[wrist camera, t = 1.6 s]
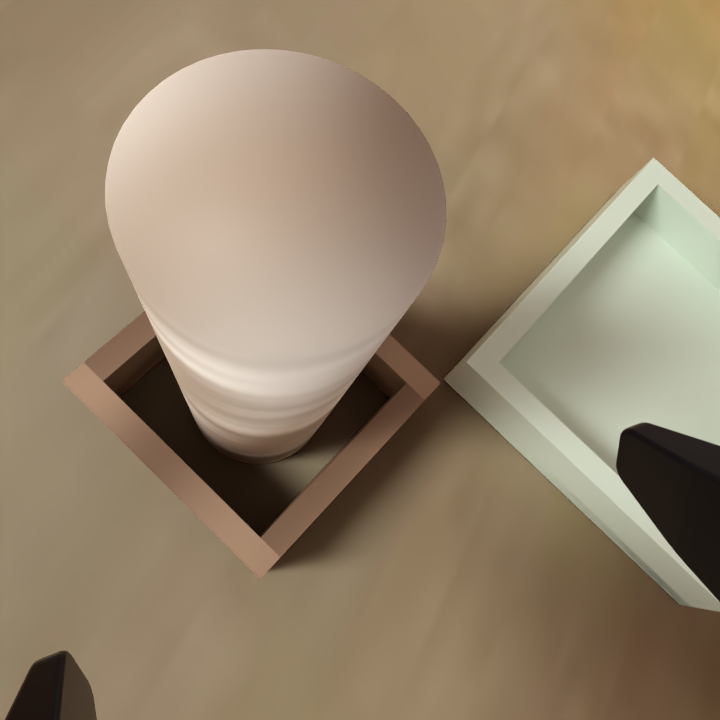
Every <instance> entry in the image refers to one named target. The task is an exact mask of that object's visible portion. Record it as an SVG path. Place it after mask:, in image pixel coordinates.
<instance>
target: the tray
mask: <svg viewBox="0 0 720 720" xmlns="http://www.w3.org/2000/svg"><path fill="white" fill-rule="evenodd" d="M444 380H445V381H446V382H447V383H448V384H449V385H450V386H451V387H452V388H453V389H454V390H455V391H456V392H457V393H458V394H459V395H460V396H462V397H463V398H464V399H465V400H466V401H467V402H468V403H469V404H470V405H471V406H472V407H473V408H474V409H475V410H476V411H477V412H478V413H479V414H480V415H481V416H482V417H484V418H485V419H486V420H487V421H488V422H489V423H490V424H491V425H492V426H493V427H494V428H495V429H496V430H497V431H498V432H499V433H500V434H501V435H502V436H503V437H504V438H506V439H507V440H508V441H509V442H510V443H511V444H512V445H513V446H514V447H515V448H516V449H517V450H518V451H519V452H520V453H521V454H522V455H523V456H524V457H525V458H526V459H528V460H529V461H530V462H531V463H532V464H533V465H534V466H535V467H536V468H537V469H538V470H539V471H540V472H541V473H542V474H543V475H544V476H545V477H546V478H547V479H548V480H550V481H551V482H552V483H553V484H554V485H555V486H556V487H557V488H558V489H559V490H560V491H561V492H562V493H563V494H564V495H565V496H566V497H567V498H568V499H569V500H570V501H572V502H573V503H574V504H575V505H576V506H577V507H578V508H579V509H580V510H581V511H582V512H583V513H584V514H585V515H586V516H587V517H588V518H589V519H590V520H591V521H592V522H594V523H595V524H596V525H597V526H598V527H599V528H600V529H601V530H602V531H603V532H604V533H605V534H606V535H607V536H608V537H609V538H610V539H611V540H612V541H613V542H614V543H616V544H617V545H618V546H619V547H620V548H621V549H622V550H623V551H624V552H625V553H626V554H627V555H628V556H629V557H630V558H631V559H632V560H633V561H634V562H635V563H636V564H637V565H639V566H640V567H641V568H642V569H643V570H644V571H645V572H646V573H647V574H648V575H649V576H650V577H651V578H652V579H653V580H654V581H655V582H656V583H657V584H658V585H659V586H661V587H662V588H663V589H664V590H665V591H666V592H667V593H668V594H669V595H670V596H671V597H672V598H673V599H674V600H675V601H676V602H677V603H678V604H679V605H684V606H690V607H695V608H701V609H707V610H712V611H718V612H720V602H719V601H718V600H717V599H716V597H715V596H714V595H713V594H712V593H711V592H710V591H709V590H708V588H707V587H706V586H705V585H704V584H703V583H702V582H701V581H700V580H699V578H698V577H697V576H696V575H695V574H694V573H693V572H692V571H691V570H690V568H689V567H688V566H687V565H686V564H685V563H684V562H683V561H682V559H681V558H680V557H679V556H678V555H677V554H676V552H675V551H674V550H673V549H672V547H671V546H670V545H669V544H668V542H667V541H666V540H665V538H664V537H663V536H662V534H661V533H660V532H659V530H658V529H657V528H656V526H655V525H654V523H653V522H652V521H651V519H650V518H649V517H648V515H647V514H646V513H645V511H644V510H643V509H642V507H641V506H640V504H639V503H638V502H637V500H636V499H635V498H634V496H633V495H632V494H631V492H630V491H629V490H628V488H627V487H626V486H625V484H624V483H623V481H622V480H621V478H620V477H619V475H618V472H617V469H616V460H617V453H618V446H619V440H620V435H621V432H622V431H623V430H624V429H626V428H628V427H631V426H633V425H636V424H638V423H642V422H646V423H651V424H654V425H657V426H660V427H663V428H666V429H670V430H673V431H676V432H679V433H682V434H685V435H688V436H691V437H695V438H698V439H701V440H704V441H707V442H710V443H713V444H716V445H719V446H720V218H719V217H718V216H717V215H716V214H715V213H714V212H713V211H712V210H711V209H709V208H708V207H707V206H706V205H705V204H704V203H703V202H702V201H701V200H700V199H698V198H697V197H696V196H695V195H694V194H693V193H692V192H691V191H690V190H689V189H687V188H686V187H685V186H684V185H683V184H682V183H681V182H680V181H679V180H678V179H676V178H675V177H674V176H673V175H672V174H671V173H670V172H669V171H668V170H667V169H665V168H664V167H663V166H662V165H661V164H660V163H659V162H658V161H657V160H656V159H654V158H653V159H651V160H650V161H649V162H648V163H647V164H646V165H645V166H644V167H643V168H641V169H640V170H639V171H638V172H637V173H636V174H635V175H634V176H633V177H631V178H630V179H629V180H628V181H627V182H626V183H625V184H624V185H623V186H622V187H620V188H619V189H618V190H617V191H616V192H615V193H614V194H613V195H612V196H611V198H610V199H609V200H608V201H607V202H606V203H605V204H604V205H603V206H602V207H601V208H600V210H599V211H598V212H597V213H596V214H595V215H594V216H593V217H592V218H591V219H590V220H589V221H588V223H587V224H586V225H585V226H584V227H583V228H582V229H581V230H580V231H579V232H578V233H577V235H576V236H575V237H574V238H573V239H572V240H571V241H570V242H569V243H568V244H567V245H566V246H565V248H564V249H563V250H562V251H561V252H560V253H559V254H558V255H557V256H556V257H555V258H554V259H553V261H552V262H551V263H550V264H549V265H548V266H547V267H546V268H545V269H544V270H543V271H542V273H541V274H540V275H539V276H538V277H537V278H536V279H535V280H534V281H533V282H532V283H531V284H530V286H529V287H528V288H527V289H526V290H525V291H524V292H523V293H522V294H521V295H520V296H519V297H518V299H517V300H516V301H515V302H514V303H513V304H512V305H511V306H510V307H509V308H508V309H507V311H506V312H505V313H504V314H503V315H502V316H501V317H500V318H499V319H498V320H497V321H496V322H495V324H494V325H493V326H492V327H491V328H490V329H489V330H488V331H487V332H486V333H485V334H484V335H483V337H482V338H481V339H480V340H479V341H478V342H477V343H476V344H475V345H474V346H473V347H472V349H471V350H470V351H469V352H468V353H467V354H466V355H465V356H464V357H463V358H462V359H461V360H460V362H459V363H458V364H457V365H456V366H455V367H454V368H453V369H452V370H451V371H450V372H449V373H448V375H447V376H446V377H445V378H444Z"/></svg>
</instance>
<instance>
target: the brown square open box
mask: <svg viewBox="0 0 720 720" xmlns="http://www.w3.org/2000/svg"><path fill="white" fill-rule="evenodd" d="M165 357H166V356H165V354H164V351H163V349H162V347H161V345H160V343H159V340H158V338H157V336H156V334H155V332H154V329H153V327H152V325H151V323H150V321H149V319H148V316H147V314H146V312H145V311H144V312H143V313H142V314H141V315H139V316H138V317H137V318H136V319H135V320H134V321H132V322H131V323H130V324H129V325H128V326H126V327H125V328H124V329H123V330H122V331H120V332H119V333H118V334H117V335H116V336H115V337H113V338H112V339H111V340H110V341H109V342H107V343H106V344H105V345H104V346H103V347H101V348H100V349H99V350H98V351H97V352H96V353H94V354H93V355H92V356H91V357H90V358H88V359H87V360H86V361H85V362H84V363H82V364H81V365H80V366H79V367H78V368H77V369H75V370H74V371H73V372H72V373H71V374H69V375H68V376H67V377H66V378H65V379H63V380H62V382H63V383H64V384H65V385H66V386H67V387H68V388H69V389H70V390H71V391H72V392H73V393H74V394H75V395H76V396H77V397H78V398H79V399H80V400H81V401H82V402H83V403H84V404H85V405H86V406H87V407H88V408H89V409H90V410H91V411H92V412H93V413H94V414H95V415H96V416H97V417H98V418H99V419H100V420H101V421H102V422H103V423H104V424H105V425H106V426H107V427H108V428H109V429H110V430H111V431H112V432H113V433H114V434H115V435H116V436H117V437H118V438H119V439H120V440H121V441H122V442H123V443H124V444H125V445H126V446H127V447H128V448H129V449H130V450H131V451H132V452H133V453H134V454H135V455H136V456H137V457H138V458H139V459H140V460H141V461H142V462H143V463H144V464H145V465H146V466H147V467H148V468H149V469H150V470H151V471H152V472H153V473H154V474H155V475H156V476H157V477H158V478H159V479H160V480H161V481H162V482H163V483H164V484H165V485H166V486H167V487H168V488H169V489H170V490H171V491H172V492H173V493H174V494H175V495H176V496H177V497H178V498H179V499H180V500H181V501H182V502H183V503H184V504H185V505H186V506H187V507H188V508H189V509H190V510H192V511H193V512H194V513H195V514H196V515H197V516H198V517H199V518H200V519H201V520H202V521H203V522H204V523H205V524H206V525H207V526H208V527H209V528H210V529H211V530H212V531H213V532H214V533H215V534H216V535H217V536H218V537H219V538H220V539H221V540H222V541H223V542H224V543H225V544H226V545H227V546H228V547H229V548H230V549H231V550H232V551H233V552H234V553H235V554H236V555H237V556H238V557H239V558H240V559H241V560H242V561H243V562H244V563H245V564H246V565H247V566H248V567H249V568H250V569H251V570H252V571H253V572H254V573H255V574H256V575H257V576H258V577H259V578H260V579H261V578H262V577H263V576H264V575H265V574H266V572H267V571H268V570H269V569H270V568H271V567H272V566H273V565H274V564H275V563H276V562H277V560H278V559H279V558H280V557H281V556H282V555H283V554H284V553H285V552H286V551H287V550H288V549H289V547H290V546H291V545H292V544H293V543H294V542H295V541H296V540H297V539H298V538H299V537H300V536H301V534H302V533H303V532H304V531H305V530H306V529H307V528H308V527H309V526H310V525H311V524H312V522H313V521H314V520H315V519H316V518H317V517H318V516H319V515H320V514H321V513H322V512H323V511H324V509H325V508H326V507H327V506H328V505H329V504H330V503H331V502H332V501H333V500H334V499H335V497H336V496H337V495H338V494H339V493H340V492H341V491H342V490H343V489H344V488H345V487H346V486H347V484H348V483H349V482H350V481H351V480H352V479H353V478H354V477H355V476H356V475H357V474H358V472H359V471H360V470H361V469H362V468H363V467H364V466H365V465H366V464H367V463H368V462H369V461H370V459H371V458H372V457H373V456H374V455H375V454H376V453H377V452H378V451H379V450H380V449H381V447H382V446H383V445H384V444H385V443H386V442H387V441H388V440H389V439H390V438H391V437H392V436H393V434H394V433H395V432H396V431H397V430H398V429H399V428H400V427H401V426H402V425H403V424H404V422H405V421H406V420H407V419H408V418H409V417H410V416H411V415H412V414H413V413H414V412H415V411H416V409H417V408H418V407H419V406H420V405H421V404H422V403H423V402H424V401H425V400H426V399H427V397H428V396H429V395H430V394H431V393H432V392H433V391H434V390H435V389H436V388H437V387H438V386H439V384H440V382H439V381H438V380H437V379H436V378H435V377H434V376H433V375H432V374H431V373H430V372H429V371H428V370H427V369H426V368H425V367H424V366H423V365H422V364H420V363H419V362H418V361H417V360H416V359H415V358H414V357H413V356H412V355H411V354H410V353H409V352H408V351H407V350H406V349H405V348H404V347H403V346H402V345H401V344H400V343H399V342H397V341H396V340H395V339H394V338H393V337H392V336H391V335H390V334H389V335H388V336H387V338H386V339H385V340H384V342H383V343H382V344H381V346H380V347H379V348H378V350H377V351H376V352H375V354H374V355H373V356H372V358H371V359H370V360H369V362H368V363H367V364H366V366H365V367H364V368H363V370H362V372H363V373H364V374H365V375H366V376H367V377H368V378H369V379H370V380H371V381H372V382H373V383H374V384H375V385H377V386H378V387H379V388H380V389H381V390H382V391H383V392H384V393H385V394H386V395H387V396H388V397H389V399H388V400H387V401H386V402H385V403H384V404H383V406H382V407H381V408H380V409H379V410H378V411H377V412H376V413H375V414H374V415H373V416H372V417H371V418H370V419H369V420H368V421H367V422H366V424H365V425H364V426H363V427H362V428H361V429H360V430H359V431H358V432H357V433H356V434H355V435H354V436H353V437H352V438H351V439H350V440H349V441H348V443H347V444H346V445H345V446H344V447H343V448H342V449H341V450H340V451H339V452H338V453H337V454H336V455H335V456H334V457H333V458H332V459H331V460H330V462H329V463H328V464H327V465H326V466H325V467H324V468H323V469H322V470H321V471H320V472H319V473H318V474H317V475H316V476H315V477H314V478H313V480H312V481H311V482H310V483H309V484H308V485H307V486H306V487H305V488H304V489H303V490H302V491H301V492H300V493H299V494H298V495H297V496H296V497H295V499H294V500H293V501H292V502H291V503H290V504H289V505H288V506H287V507H286V508H285V509H284V510H283V511H282V512H281V513H280V514H279V515H278V517H277V518H276V519H275V520H274V521H273V522H272V523H271V524H270V525H269V526H268V527H267V528H266V529H265V530H264V531H263V532H262V533H261V534H260V536H258V535H257V534H256V533H255V532H254V531H253V530H252V529H251V528H250V527H249V526H248V525H247V524H246V523H245V522H244V521H243V520H242V519H241V518H240V517H239V516H238V515H237V514H236V513H235V512H234V511H233V510H232V509H231V508H230V507H229V506H228V505H227V504H226V503H225V502H224V501H223V500H222V499H221V498H220V497H219V496H218V495H217V494H216V493H215V492H214V491H213V490H212V489H211V488H210V487H209V486H208V485H207V484H206V483H205V482H204V481H203V480H202V479H201V478H200V477H199V476H198V475H197V474H196V473H195V472H194V471H193V470H192V469H191V468H190V467H189V466H188V465H187V464H186V463H185V462H184V461H183V460H182V459H181V458H180V457H179V456H178V455H177V454H176V453H175V452H174V451H173V450H172V449H171V448H170V447H169V446H168V445H167V444H166V443H165V442H164V441H163V440H162V439H161V438H160V437H159V436H158V435H157V434H156V433H154V432H153V431H152V430H151V429H150V428H149V427H148V426H147V425H146V424H145V423H144V422H143V421H142V420H141V419H140V418H139V417H138V416H137V415H136V414H135V413H134V412H133V411H132V410H131V409H130V408H129V407H128V406H127V405H126V404H125V403H124V402H123V401H122V400H121V399H120V398H119V397H120V396H122V395H123V394H124V393H125V392H126V391H127V390H128V389H129V388H131V387H132V386H133V385H134V384H135V383H136V382H137V381H139V380H140V379H141V378H142V377H143V376H144V375H145V374H147V373H148V372H149V371H150V370H151V369H152V368H153V367H154V366H156V365H157V364H158V363H159V362H160V361H161V360H162V359H164V358H165Z"/></svg>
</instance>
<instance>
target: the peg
mask: <svg viewBox="0 0 720 720" xmlns="http://www.w3.org/2000/svg"><path fill="white" fill-rule="evenodd" d="M105 205H106V211H107V218H108V224H109V228H110V231H111V234H112V237H113V240H114V243H115V246H116V248H117V251H118V253H119V255H120V257H121V259H122V262H123V264H124V266H125V268H126V270H127V273H128V275H129V277H130V279H131V281H132V284H133V286H134V288H135V290H136V292H137V294H138V297H139V299H140V301H141V303H142V305H143V308H144V310H145V312H146V314H147V316H148V319H149V321H150V323H151V325H152V327H153V329H154V332H155V334H156V336H157V338H158V340H159V343H160V345H161V347H162V349H163V351H164V354H165V356H166V358H167V360H168V362H169V364H170V367H171V369H172V371H173V373H174V375H175V378H176V380H177V382H178V384H179V386H180V389H181V391H182V393H183V395H184V397H185V399H186V402H187V404H188V406H189V408H190V410H191V413H192V415H193V417H194V419H195V421H196V424H197V426H198V428H199V430H200V432H201V433H202V435H203V436H204V438H205V439H206V440H207V441H208V442H209V443H210V445H211V446H213V447H214V448H215V449H216V450H217V451H219V452H220V453H222V454H223V455H225V456H227V457H229V458H231V459H234V460H237V461H240V462H244V463H250V464H265V463H271V462H276V461H279V460H282V459H284V458H286V457H288V456H290V455H292V454H294V453H295V452H297V451H298V450H300V449H301V448H302V447H303V446H304V445H305V444H306V443H307V442H308V441H309V440H310V439H311V437H312V436H313V435H314V433H315V432H316V431H317V429H318V428H319V427H320V425H321V424H322V423H323V421H324V420H325V419H326V417H327V416H328V415H329V413H330V412H331V411H332V409H333V408H334V407H335V405H336V404H337V403H338V402H339V400H340V399H341V398H342V396H343V395H344V394H345V392H346V391H347V390H348V388H349V387H350V386H351V384H352V383H353V382H354V380H355V379H356V378H357V376H358V375H359V374H360V372H361V371H362V370H363V368H364V367H365V366H366V364H367V363H368V362H369V360H370V359H371V358H372V356H373V355H374V354H375V352H376V351H377V350H378V348H379V347H380V346H381V344H382V343H383V342H384V340H385V339H386V338H387V336H388V335H389V334H390V332H391V331H392V330H393V328H394V327H395V326H396V324H397V323H398V322H399V320H400V319H401V318H402V316H403V315H404V314H405V312H406V311H407V310H408V308H409V307H410V306H411V305H412V303H413V302H414V301H415V299H416V298H417V297H418V295H419V294H420V292H421V291H422V289H423V288H424V286H425V285H426V283H427V281H428V280H429V278H430V277H431V274H432V272H433V270H434V268H435V265H436V263H437V261H438V259H439V255H440V252H441V248H442V245H443V241H444V235H445V227H446V198H445V191H444V184H443V180H442V177H441V173H440V170H439V166H438V163H437V161H436V159H435V156H434V154H433V152H432V149H431V147H430V145H429V144H428V142H427V140H426V138H425V137H424V135H423V133H422V132H421V130H420V129H419V127H418V126H417V125H416V123H415V122H414V121H413V119H412V118H411V117H410V115H409V114H408V113H407V112H406V111H405V110H404V109H403V108H402V107H401V106H400V105H399V104H398V103H397V102H396V101H395V100H394V99H393V98H392V97H391V96H390V95H388V94H387V93H386V92H385V91H384V90H382V89H381V88H380V87H379V86H377V85H376V84H374V83H373V82H371V81H370V80H368V79H367V78H365V77H364V76H362V75H360V74H358V73H356V72H354V71H352V70H350V69H348V68H346V67H344V66H342V65H340V64H337V63H334V62H332V61H329V60H327V59H324V58H320V57H316V56H313V55H309V54H305V53H299V52H293V51H286V50H271V49H257V50H242V51H236V52H231V53H225V54H220V55H217V56H214V57H211V58H207V59H204V60H201V61H199V62H196V63H194V64H192V65H190V66H188V67H185V68H183V69H181V70H180V71H178V72H176V73H175V74H173V75H171V76H170V77H168V78H167V79H165V80H164V81H162V82H161V83H160V84H159V85H158V86H156V87H155V88H154V89H153V90H151V91H150V92H149V93H148V94H147V95H146V96H145V97H144V98H143V99H142V100H141V102H140V103H139V104H138V105H137V106H136V107H135V108H134V110H133V111H132V113H131V114H130V115H129V117H128V118H127V120H126V121H125V123H124V124H123V126H122V128H121V130H120V132H119V134H118V136H117V138H116V140H115V142H114V146H113V149H112V152H111V155H110V158H109V162H108V168H107V174H106V181H105Z"/></svg>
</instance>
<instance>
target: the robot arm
mask: <svg viewBox="0 0 720 720" xmlns="http://www.w3.org/2000/svg"><path fill="white" fill-rule="evenodd" d="M616 469H617V472H618V475H619V477H620V478H621V480H622V481H623V483H624V484H625V486H626V487H627V488H628V490H629V491H630V492H631V494H632V495H633V496H634V498H635V499H636V500H637V502H638V503H639V504H640V506H641V507H642V509H643V510H644V511H645V513H646V514H647V515H648V517H649V518H650V519H651V521H652V522H653V523H654V525H655V526H656V528H657V529H658V530H659V532H660V533H661V534H662V536H663V537H664V538H665V540H666V541H667V542H668V544H669V545H670V546H671V547H672V549H673V550H674V551H675V552H676V554H677V555H678V556H679V557H680V558H681V559H682V561H683V562H684V563H685V564H686V565H687V566H688V567H689V568H690V570H691V571H692V572H693V573H694V574H695V575H696V576H697V577H698V578H699V580H700V581H701V582H702V583H703V584H704V585H705V586H706V587H707V588H708V590H709V591H710V592H711V593H712V594H713V595H714V596H715V597H716V599H717V600H718V601H719V602H720V446H719V445H716V444H713V443H710V442H707V441H704V440H701V439H698V438H695V437H691V436H688V435H685V434H682V433H679V432H676V431H673V430H670V429H666V428H663V427H660V426H657V425H654V424H651V423H646V422H642V423H638V424H636V425H633V426H631V427H628V428H626V429H624V430H623V431H622V432H621V435H620V440H619V446H618V453H617V460H616ZM5 720H97V718H96V711H95V704H94V697H93V693H92V689H91V686H90V684H89V682H88V680H87V679H86V677H85V675H84V674H83V672H82V671H81V669H80V668H79V666H78V665H77V663H76V662H75V660H74V658H73V657H72V655H71V654H70V653H69V652H67V651H59V652H57V653H54V654H52V655H49V656H47V657H44V658H42V659H39V660H38V661H36V662H35V663H34V664H33V665H32V666H31V668H30V669H29V671H28V674H27V676H26V678H25V680H24V682H23V684H22V686H21V688H20V690H19V692H18V694H17V696H16V698H15V700H14V702H13V704H12V706H11V708H10V710H9V712H8V714H7V716H6V718H5Z"/></svg>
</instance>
